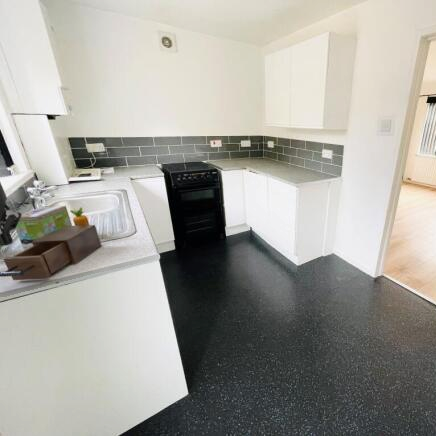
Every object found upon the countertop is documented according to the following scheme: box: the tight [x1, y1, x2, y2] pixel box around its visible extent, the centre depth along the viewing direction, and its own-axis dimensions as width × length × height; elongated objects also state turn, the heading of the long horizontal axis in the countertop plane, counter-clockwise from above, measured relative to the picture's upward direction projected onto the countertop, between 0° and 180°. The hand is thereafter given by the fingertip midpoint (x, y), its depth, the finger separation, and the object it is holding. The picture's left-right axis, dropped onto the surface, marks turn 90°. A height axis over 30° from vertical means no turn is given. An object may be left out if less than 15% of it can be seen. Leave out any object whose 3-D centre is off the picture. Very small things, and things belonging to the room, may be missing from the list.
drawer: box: [0, 242, 72, 281], centre depth 81 cm, size 18×10×8 cm, turn 4°
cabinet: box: [32, 224, 102, 265], centre depth 93 cm, size 15×12×10 cm
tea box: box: [15, 205, 73, 251], centre depth 103 cm, size 15×10×15 cm
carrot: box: [69, 206, 90, 226], centre depth 105 cm, size 5×5×15 cm
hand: (6, 244), depth 72 cm, fingers closed
